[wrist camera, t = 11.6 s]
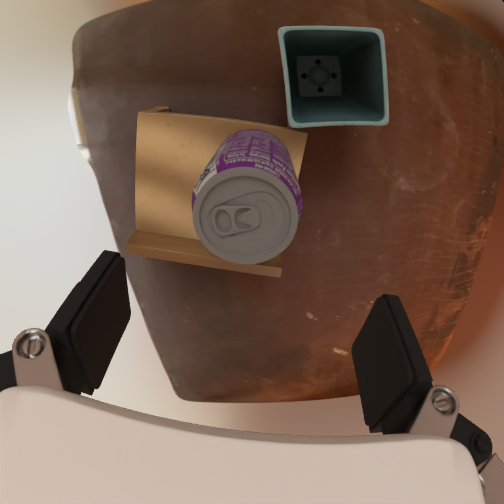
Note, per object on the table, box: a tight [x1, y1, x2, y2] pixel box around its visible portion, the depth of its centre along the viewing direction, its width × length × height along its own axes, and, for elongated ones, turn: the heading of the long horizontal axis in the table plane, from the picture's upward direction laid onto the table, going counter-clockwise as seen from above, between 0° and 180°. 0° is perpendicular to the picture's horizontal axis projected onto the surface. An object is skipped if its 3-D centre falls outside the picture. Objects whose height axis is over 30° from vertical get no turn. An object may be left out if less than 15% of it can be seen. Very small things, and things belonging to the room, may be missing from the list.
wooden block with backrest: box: [126, 106, 308, 278], centre depth 31 cm, size 14×16×9 cm
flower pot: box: [278, 26, 389, 128], centre depth 25 cm, size 9×9×9 cm
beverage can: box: [192, 129, 303, 264], centre depth 23 cm, size 7×7×12 cm
